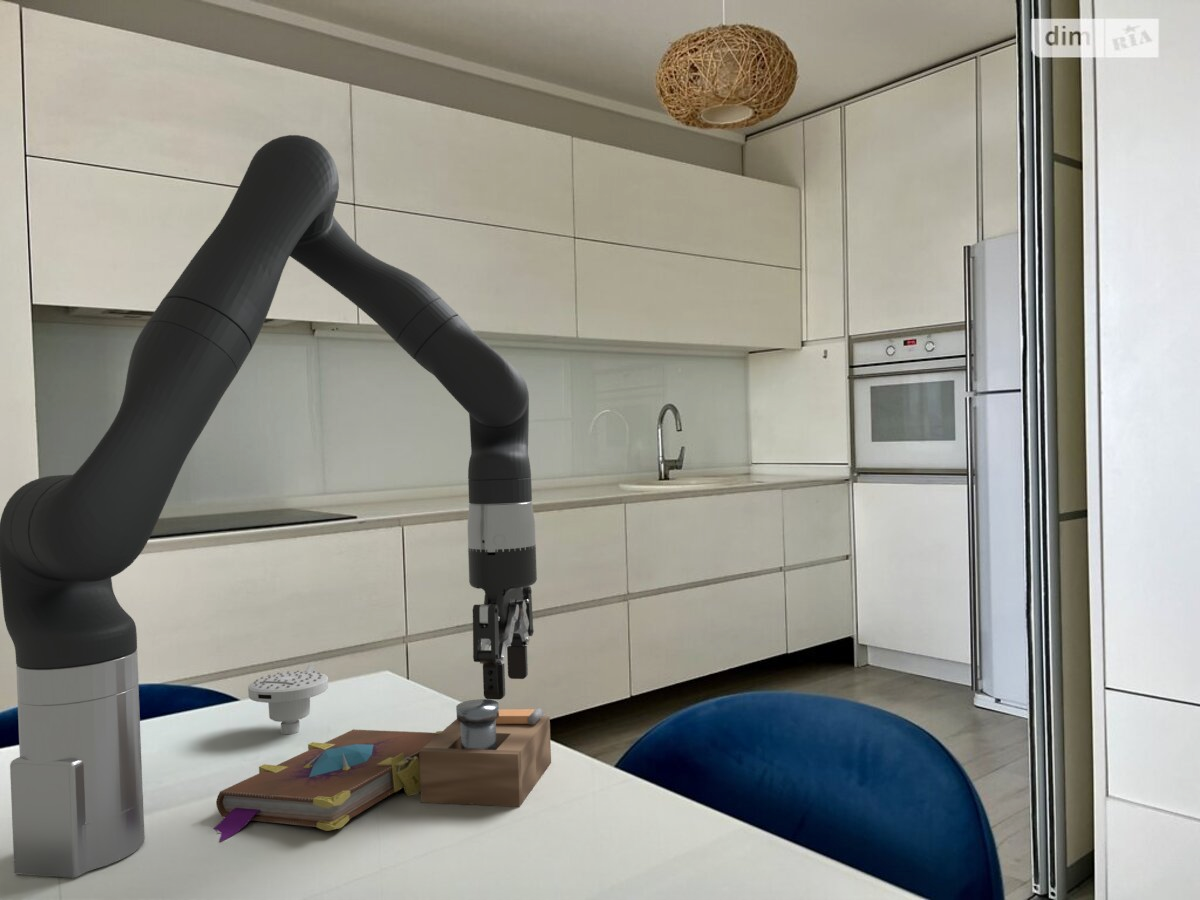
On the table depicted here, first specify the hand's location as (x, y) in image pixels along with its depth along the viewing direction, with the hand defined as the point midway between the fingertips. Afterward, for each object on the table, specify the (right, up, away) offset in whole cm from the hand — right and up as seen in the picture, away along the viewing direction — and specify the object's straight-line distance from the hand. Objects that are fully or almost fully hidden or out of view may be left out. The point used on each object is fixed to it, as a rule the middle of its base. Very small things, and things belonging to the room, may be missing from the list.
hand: (506, 688), depth 101 cm
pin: (-2, -8, -10) cm, 13 cm away
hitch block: (-1, -8, -8) cm, 11 cm away
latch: (0, -2, -4) cm, 5 cm away
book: (-16, -9, -10) cm, 21 cm away
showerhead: (-28, -9, +12) cm, 32 cm away
